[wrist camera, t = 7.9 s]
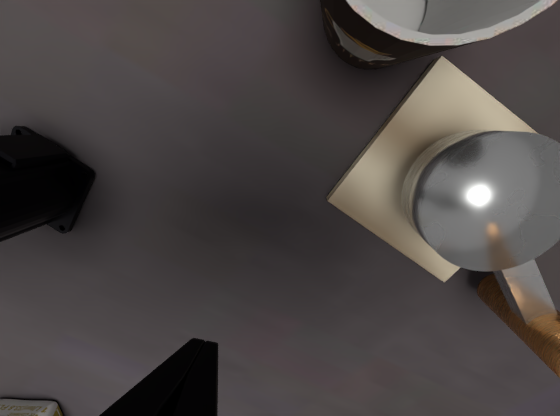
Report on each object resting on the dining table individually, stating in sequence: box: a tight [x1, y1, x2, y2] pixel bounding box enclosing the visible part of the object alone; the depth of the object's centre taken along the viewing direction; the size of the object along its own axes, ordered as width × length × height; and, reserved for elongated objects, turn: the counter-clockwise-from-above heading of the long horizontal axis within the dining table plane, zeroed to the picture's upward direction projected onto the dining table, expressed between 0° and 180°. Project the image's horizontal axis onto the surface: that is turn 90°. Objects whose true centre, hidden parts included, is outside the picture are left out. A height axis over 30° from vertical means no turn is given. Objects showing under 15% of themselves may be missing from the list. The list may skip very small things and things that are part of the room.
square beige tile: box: [326, 56, 538, 282], centre depth 17 cm, size 11×11×3 cm
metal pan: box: [401, 130, 560, 378], centre depth 13 cm, size 14×7×10 cm, turn 32°
